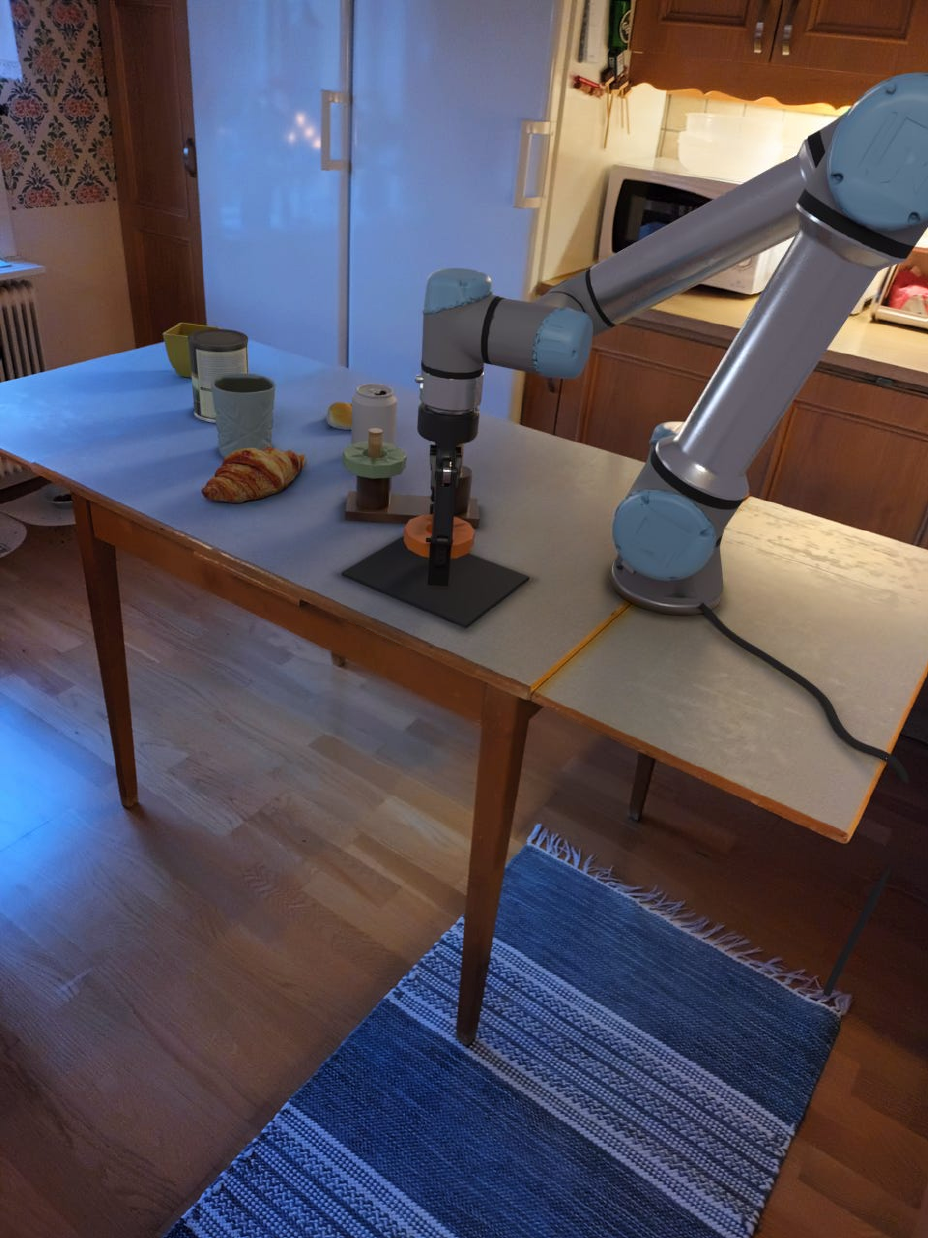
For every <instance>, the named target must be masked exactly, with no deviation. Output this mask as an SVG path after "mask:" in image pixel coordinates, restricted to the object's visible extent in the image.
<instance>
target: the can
mask: <svg viewBox="0 0 928 1238" xmlns="http://www.w3.org/2000/svg"><path fill="white" fill-rule="evenodd" d="M394 393H395V390H394V389H393V388H392V387H390V386H388V385H386V384H381V383H363V384H360V385H358V386H357V387H356V388H355V393H354V394H353V395H352V396H351V403H352V424H351V430H350V431H351V433H350V435H351V436H350V441H351V442H350V445H352V444H355V443H359V442H368V436H369V429H371V428H379V429H381V430H382V442H383V443H389V444H393V445H395V446H396V441H397V440H396V438H397V437H396V435H397V414H398V398H397V396H396V395H395V394H394Z"/></svg>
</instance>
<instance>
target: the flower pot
mask: <svg viewBox="0 0 928 1238" xmlns="http://www.w3.org/2000/svg"><path fill="white" fill-rule="evenodd" d="M205 329H222V327H221V326H213V325H212V326H211V325H203V324H195V323H188V322H179V323H177V324H176V325H173V326H172V327H171V328H169V329H168V330H166V331H164V332H163V333H162V338H163V341H164V347H165V350H166V355H167V358H168V361H169V362H170V365H171V367H172V368H173V369H174V371H175V372H176V374H177V375H178V376H179V377H183V378H191V379H192V375H191V363H190V351H189V342H188V335H189V334H191V333H193V332H195V331H199V330H205Z"/></svg>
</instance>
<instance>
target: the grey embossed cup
mask: <svg viewBox="0 0 928 1238" xmlns="http://www.w3.org/2000/svg"><path fill="white" fill-rule="evenodd" d="M211 389H212V395H213V402H214V409H215V412H216V417H215V419H216V423H215V426H216V431H217V443H218V451H219V455H220V456H221V457H223V459H225V457H227V456H228V455H230V454H231V453H232V452H233V451H236V450H239V449H244V448H256V449H259V450H261V451H262V450H263V449H264V448H266V447H272V443H273V441H272V439H273V438H272V436H273V435H272V432H273V431H272V430H273V425H274V424H273V423H274V409H275V406H274V404H275V397H276V396H275V395H276V383H275V381H274V380H272V378H269V377H267V376H264V375H260V374H255V373H253V374H252V373H249V374H226V375H222V376H218V377H216V378H214V379H213V380H212V381H211Z"/></svg>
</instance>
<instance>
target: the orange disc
mask: <svg viewBox="0 0 928 1238" xmlns="http://www.w3.org/2000/svg"><path fill="white" fill-rule="evenodd" d="M432 526H433V514H430V515H421V516H418V517H416V518H413V519H411V520H409V521H408V523H407V524H405V526H404V529H403V536H404V542H405V544H406V546H407V548H408V549H409V550H411V551H413V552H414V553H416V554H418V555H420V556H423V557H428V558H429V551H430V543H428V542H426V538H431V536H432ZM475 536H476V530H475V528H472V526H471V525H470V523H468V522H466V521H464V520H462V519H460V518H458V517H454V523H453V537H452V538H453V544H452V546H451V558H450V559H453V558H459V557H461V556H463V555H465V554H468V553H469V554H471V551H472V549H473V547H474V545H475Z"/></svg>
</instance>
